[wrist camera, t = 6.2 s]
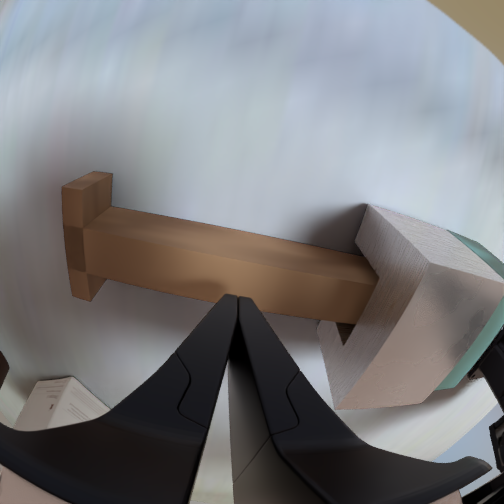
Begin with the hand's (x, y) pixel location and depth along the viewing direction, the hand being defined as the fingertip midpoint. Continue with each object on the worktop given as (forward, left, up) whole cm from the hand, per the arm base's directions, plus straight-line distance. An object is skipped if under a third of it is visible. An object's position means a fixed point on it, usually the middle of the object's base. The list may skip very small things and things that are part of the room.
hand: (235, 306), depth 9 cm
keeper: (-7, 0, -4) cm, 8 cm away
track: (-3, 0, -4) cm, 5 cm away
